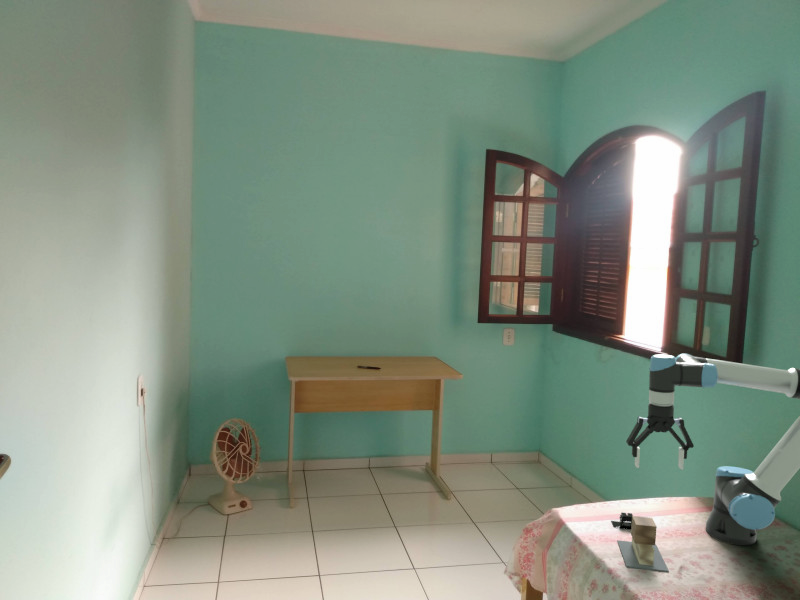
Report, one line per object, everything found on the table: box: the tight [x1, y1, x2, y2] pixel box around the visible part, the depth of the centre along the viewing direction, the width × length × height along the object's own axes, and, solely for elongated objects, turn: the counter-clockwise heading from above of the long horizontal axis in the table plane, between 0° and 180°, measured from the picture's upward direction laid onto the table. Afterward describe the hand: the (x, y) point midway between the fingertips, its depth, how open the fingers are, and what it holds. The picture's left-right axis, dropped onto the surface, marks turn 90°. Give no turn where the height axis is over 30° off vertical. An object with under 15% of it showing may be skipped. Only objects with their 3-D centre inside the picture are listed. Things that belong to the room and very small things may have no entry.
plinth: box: [631, 537, 654, 566], centre depth 191 cm, size 4×12×5 cm, turn 170°
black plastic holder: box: [610, 511, 634, 531], centre depth 211 cm, size 12×7×5 cm, turn 80°
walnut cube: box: [630, 515, 658, 545], centre depth 190 cm, size 6×6×6 cm
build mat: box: [617, 539, 670, 573], centre depth 191 cm, size 12×16×1 cm
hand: (658, 467), depth 198 cm, fingers open, 13 cm apart
